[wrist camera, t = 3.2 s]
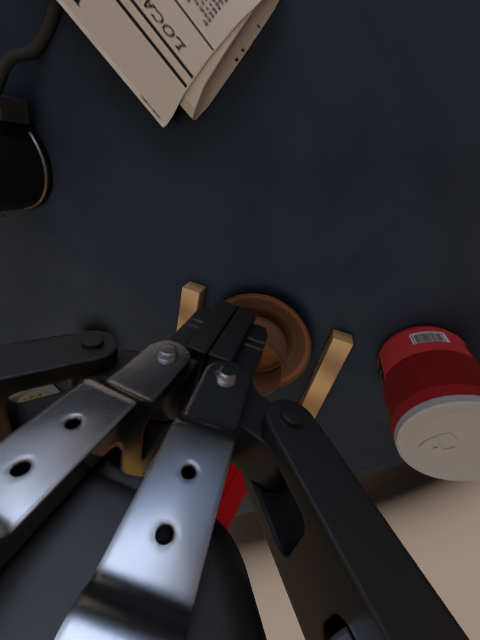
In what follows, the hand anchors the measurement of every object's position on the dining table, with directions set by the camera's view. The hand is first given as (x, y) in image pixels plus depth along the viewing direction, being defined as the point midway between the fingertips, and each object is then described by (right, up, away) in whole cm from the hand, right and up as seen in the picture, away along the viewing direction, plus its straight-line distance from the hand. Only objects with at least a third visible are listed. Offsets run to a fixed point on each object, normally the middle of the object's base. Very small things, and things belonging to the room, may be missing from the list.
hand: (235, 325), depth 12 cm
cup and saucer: (+2, -2, +22) cm, 22 cm away
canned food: (+18, -3, +18) cm, 26 cm away
